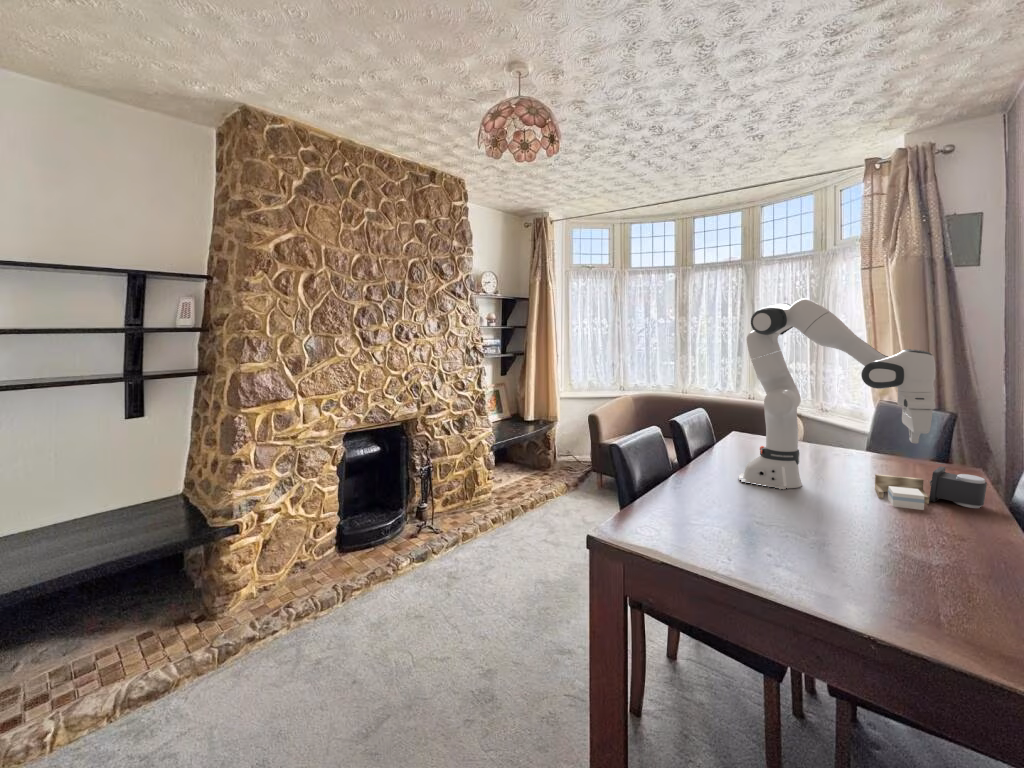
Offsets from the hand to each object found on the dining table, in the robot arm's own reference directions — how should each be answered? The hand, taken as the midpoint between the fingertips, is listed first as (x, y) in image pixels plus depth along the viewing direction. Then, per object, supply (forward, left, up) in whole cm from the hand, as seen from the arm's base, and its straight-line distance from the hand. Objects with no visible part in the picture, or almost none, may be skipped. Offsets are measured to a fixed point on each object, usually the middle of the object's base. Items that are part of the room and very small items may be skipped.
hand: (914, 442), depth 145 cm
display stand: (0, +17, -24) cm, 29 cm away
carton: (0, +9, -24) cm, 25 cm away
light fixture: (+15, +18, -24) cm, 34 cm away
